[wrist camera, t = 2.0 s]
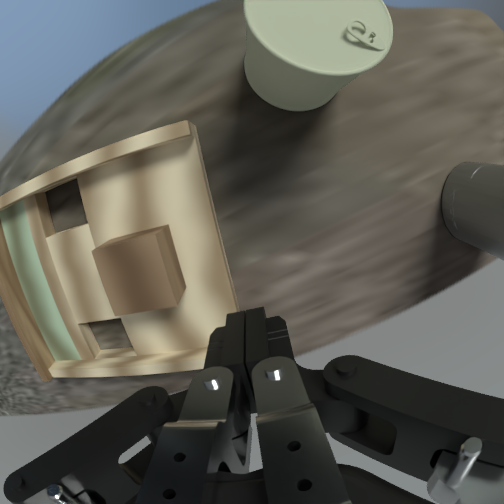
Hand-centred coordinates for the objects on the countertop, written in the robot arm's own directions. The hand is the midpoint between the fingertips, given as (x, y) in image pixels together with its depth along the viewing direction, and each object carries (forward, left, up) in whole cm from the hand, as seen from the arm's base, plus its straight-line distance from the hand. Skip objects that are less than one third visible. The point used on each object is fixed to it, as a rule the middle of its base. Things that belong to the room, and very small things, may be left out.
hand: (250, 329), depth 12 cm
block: (+9, 0, -15) cm, 18 cm away
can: (-8, -15, -17) cm, 24 cm away
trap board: (+15, 0, -17) cm, 23 cm away
